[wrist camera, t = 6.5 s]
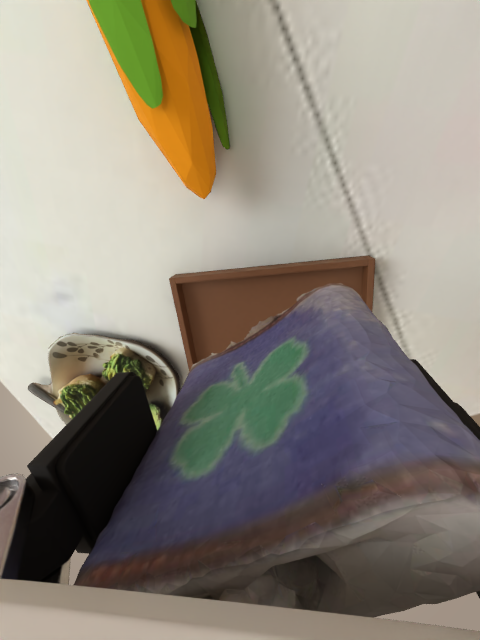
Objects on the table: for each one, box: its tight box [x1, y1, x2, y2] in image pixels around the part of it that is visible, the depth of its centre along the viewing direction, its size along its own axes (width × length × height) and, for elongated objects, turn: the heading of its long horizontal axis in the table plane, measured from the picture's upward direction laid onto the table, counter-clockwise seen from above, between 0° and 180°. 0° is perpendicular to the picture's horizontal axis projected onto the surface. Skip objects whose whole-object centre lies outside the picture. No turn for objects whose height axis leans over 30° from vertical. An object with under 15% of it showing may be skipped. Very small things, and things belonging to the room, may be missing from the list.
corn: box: [87, 0, 230, 199], centre depth 19 cm, size 7×8×20 cm
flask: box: [74, 283, 480, 618], centre depth 8 cm, size 9×3×11 cm, turn 127°
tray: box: [169, 256, 375, 371], centre depth 29 cm, size 19×13×2 cm
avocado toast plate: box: [28, 333, 180, 430], centre depth 34 cm, size 19×18×5 cm
